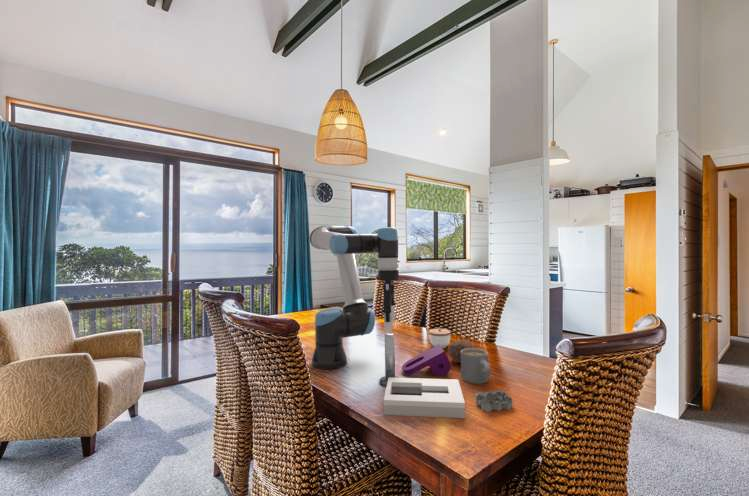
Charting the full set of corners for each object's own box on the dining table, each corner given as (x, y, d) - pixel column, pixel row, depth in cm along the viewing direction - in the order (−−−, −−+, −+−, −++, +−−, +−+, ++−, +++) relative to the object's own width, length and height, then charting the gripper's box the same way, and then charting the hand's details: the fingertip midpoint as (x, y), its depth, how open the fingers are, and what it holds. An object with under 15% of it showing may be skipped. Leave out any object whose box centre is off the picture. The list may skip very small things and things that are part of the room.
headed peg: (378, 386, 129) (377, 336, 128) (380, 378, 137) (379, 331, 136) (400, 387, 128) (399, 337, 127) (401, 378, 136) (400, 331, 135)
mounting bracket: (413, 392, 137) (454, 370, 138) (403, 373, 137) (444, 351, 138) (409, 382, 147) (447, 362, 148) (400, 364, 147) (438, 344, 147)
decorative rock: (468, 369, 145) (467, 344, 145) (443, 363, 152) (442, 340, 151) (480, 360, 155) (479, 337, 155) (456, 355, 162) (455, 333, 162)
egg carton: (483, 413, 108) (482, 400, 108) (472, 402, 115) (472, 390, 115) (516, 410, 109) (515, 397, 109) (503, 399, 117) (503, 387, 116)
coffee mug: (456, 374, 139) (456, 349, 139) (480, 372, 141) (480, 347, 141) (471, 388, 126) (471, 360, 126) (497, 385, 127) (497, 358, 127)
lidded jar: (426, 344, 181) (426, 325, 181) (447, 343, 182) (446, 324, 182) (432, 350, 170) (432, 331, 170) (454, 349, 172) (453, 330, 171)
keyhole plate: (383, 414, 107) (383, 399, 107) (388, 390, 125) (388, 377, 125) (465, 418, 104) (464, 402, 104) (458, 392, 122) (458, 379, 122)
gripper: (396, 271, 119) (397, 335, 119) (400, 267, 143) (401, 319, 144) (374, 271, 120) (375, 334, 120) (381, 267, 144) (382, 319, 144)
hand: (389, 326), depth 132 cm, fingers open, 13 cm apart
